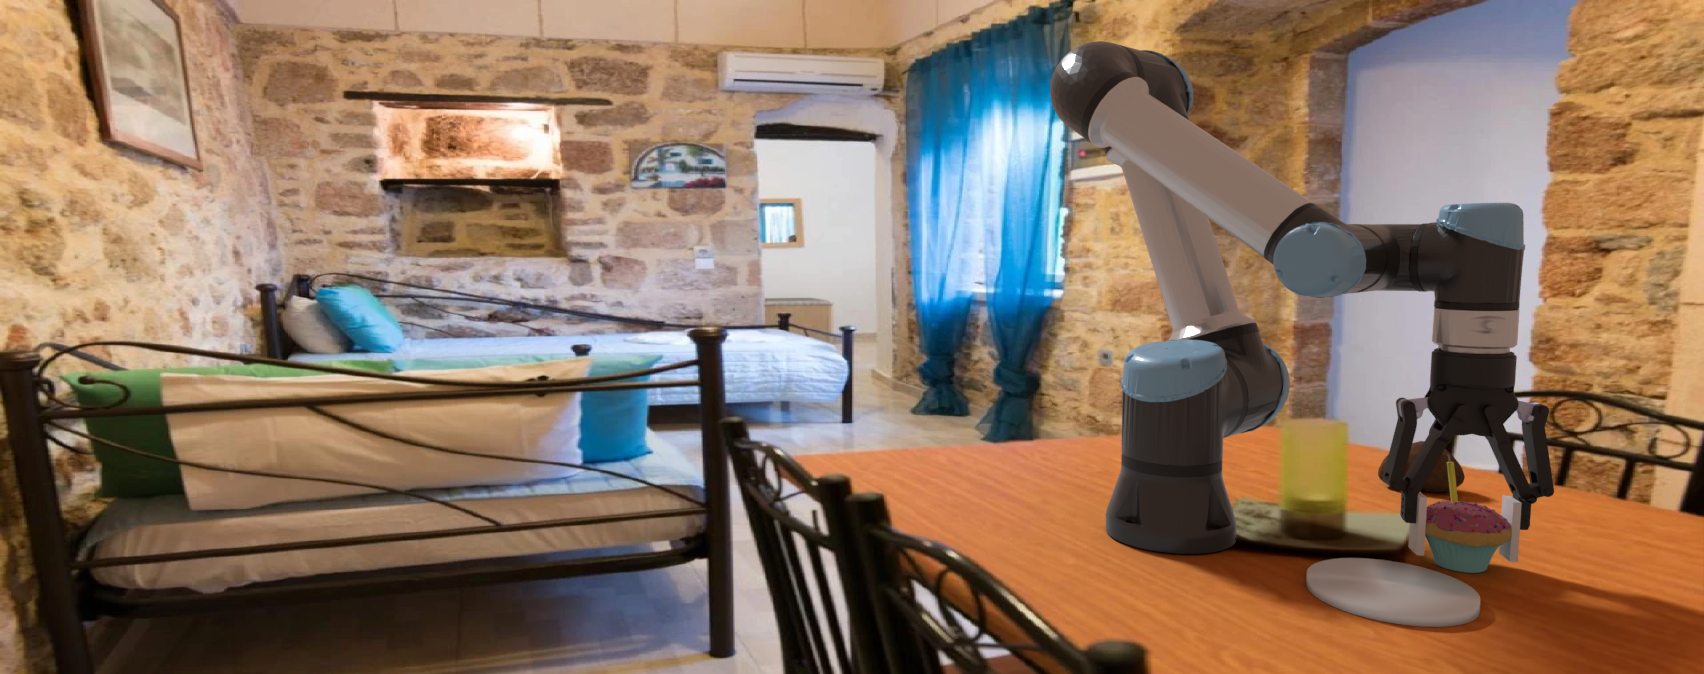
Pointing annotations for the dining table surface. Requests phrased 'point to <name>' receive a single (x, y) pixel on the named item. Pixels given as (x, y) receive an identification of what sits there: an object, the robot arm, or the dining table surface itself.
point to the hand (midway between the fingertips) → (1461, 554)
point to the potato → (1439, 474)
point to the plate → (1393, 592)
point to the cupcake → (1464, 531)
